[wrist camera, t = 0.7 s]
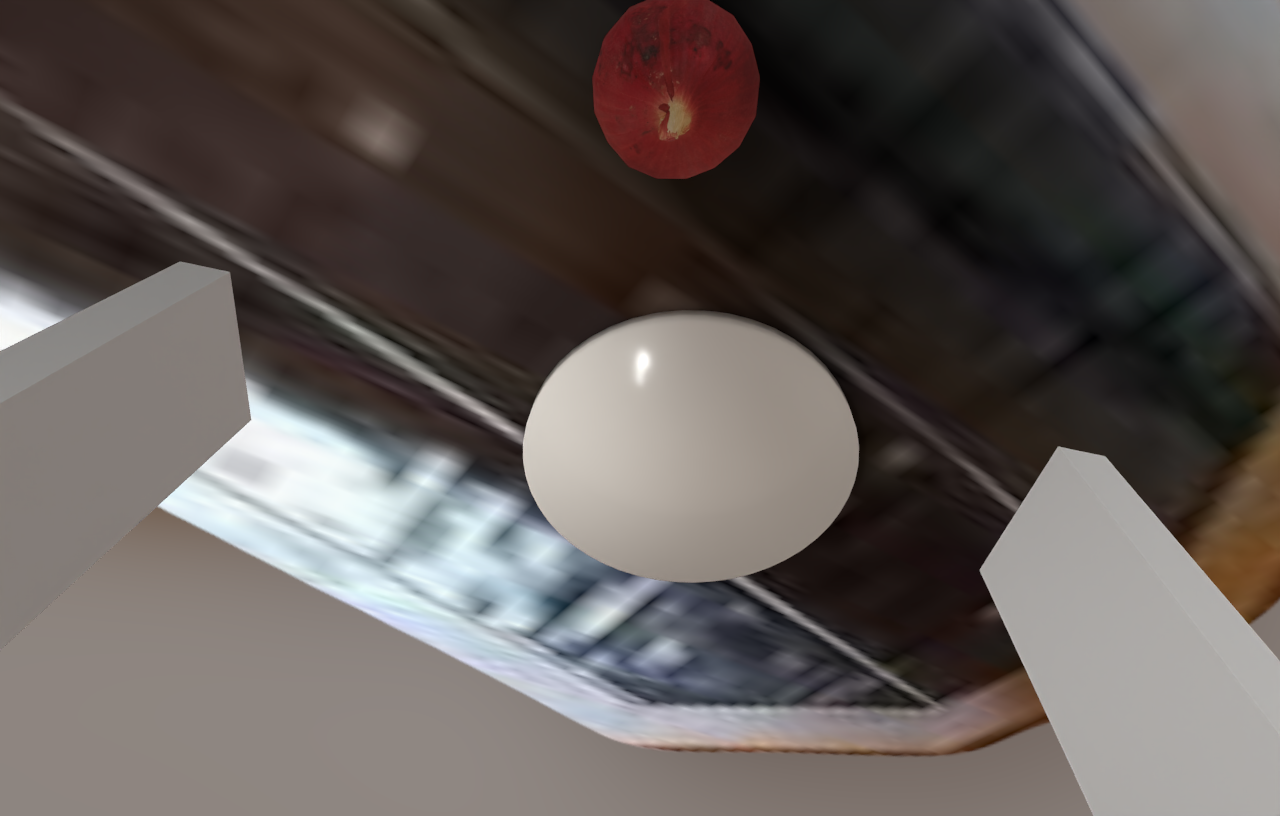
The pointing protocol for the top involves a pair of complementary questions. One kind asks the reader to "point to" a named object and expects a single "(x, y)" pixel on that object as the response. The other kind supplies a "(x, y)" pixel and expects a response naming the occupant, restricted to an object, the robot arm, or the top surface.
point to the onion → (675, 87)
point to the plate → (690, 446)
